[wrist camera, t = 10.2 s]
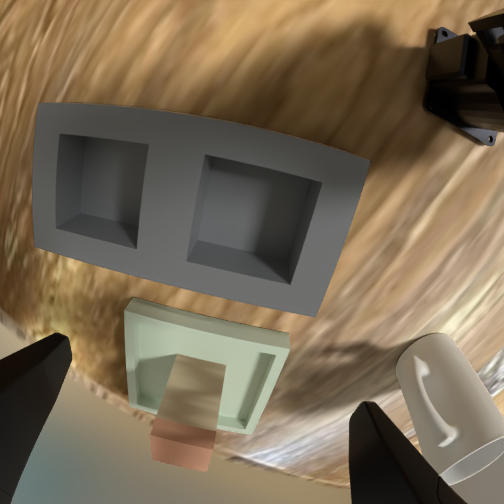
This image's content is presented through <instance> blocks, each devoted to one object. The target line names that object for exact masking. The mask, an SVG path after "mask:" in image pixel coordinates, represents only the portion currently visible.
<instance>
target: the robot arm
mask: <svg viewBox="0 0 504 504" xmlns="http://www.w3.org/2000/svg"><path fill="white" fill-rule="evenodd" d="M468 24H469V26H470V27H471V29H472V31H473V32H476V34H475V35H472V36H470V35H469V34H463V35H460V36H458V35H456V34H455V33H453V32H451V31H450V30H448V29H446V28H444V27H440V28H438V29H437V30H436V33H435V40H434V44H433V45H431V50H430V56H429V61H428V67H427V72H426V78H427V85H426V90H425V94H424V99H423V108H424V110H425V111H426V112H427V113H429V114H431V115H433V116H435V117H437V118H439V119H441V120H443V121H445V122H447V123H449V124H451V125H453V126H454V127H456V128H458V129H460V130H462V131H463V132H465V133H467V134H469V135H470V136H472V137H474V138H475V139H477V140H479V141H480V142H482V143H484V144H485V145H487V146H493V145H494V144H495V141H496V136H497V132H503V133H504V8H503V9H501V10H498V11H495V12H493V13H490V14H488V15H485V16H483V17H480V18H478V19H476V20H473V21H471V22H468ZM442 32H443V33H444V35H445V37H444V36H443V35H442ZM429 102H431V104H432V108H431V109H430V108H429ZM489 137H490V141H489V140H488V138H489ZM71 362H72V351H71V346H70V341H69V338H68V337H67V336H65V335H63V334H61V333H54V334H52V335H50V336H48V337H45V338H43V339H41V340H39V341H37V342H35V343H33V344H31V345H29V346H27V347H25V348H23V349H21V350H19V351H17V352H15V353H13V354H11V355H9V356H7V357H5V358H3V359H1V360H0V504H11V501H12V497H13V495H14V493H15V490H16V487H17V485H18V482H19V480H20V477H21V475H22V472H23V470H24V468H25V465H26V463H27V461H28V458H29V456H30V453H31V452H32V449H33V447H34V445H35V443H36V441H37V439H38V436H39V434H40V432H41V430H42V428H43V426H44V424H45V422H46V420H47V418H48V416H49V414H50V412H51V410H52V408H53V406H54V404H55V402H56V399H57V397H58V394H59V392H60V389H61V387H62V384H63V382H64V379H65V377H66V374H67V372H68V369H69V367H70V364H71ZM349 474H350V486H351V499H352V504H467V503H466V502H465V501H464V500H463V499H462V498H461V497H460V496H459V495H458V494H457V493H456V492H455V491H454V490H453V489H452V488H451V487H450V486H449V485H448V484H447V483H446V482H445V481H444V480H443V478H442V477H441V476H439V474H438V473H437V472H436V471H435V469H434V468H433V467H432V466H431V465H430V464H429V463H428V462H427V460H426V459H425V458H424V457H423V456H422V455H421V454H420V453H419V451H418V450H417V449H416V448H415V447H414V446H413V445H412V443H411V442H410V441H409V440H408V439H407V438H406V437H405V435H404V434H403V433H402V432H401V431H400V430H399V429H398V428H397V426H396V425H395V424H394V423H393V422H392V421H391V420H390V418H389V417H388V416H387V415H386V414H385V413H384V412H383V410H382V409H381V408H380V407H379V406H378V405H377V404H376V403H375V402H371V401H363V402H361V403H360V405H359V406H358V407H357V409H356V410H355V411H354V413H353V414H352V415H351V417H350V421H349Z"/></svg>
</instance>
